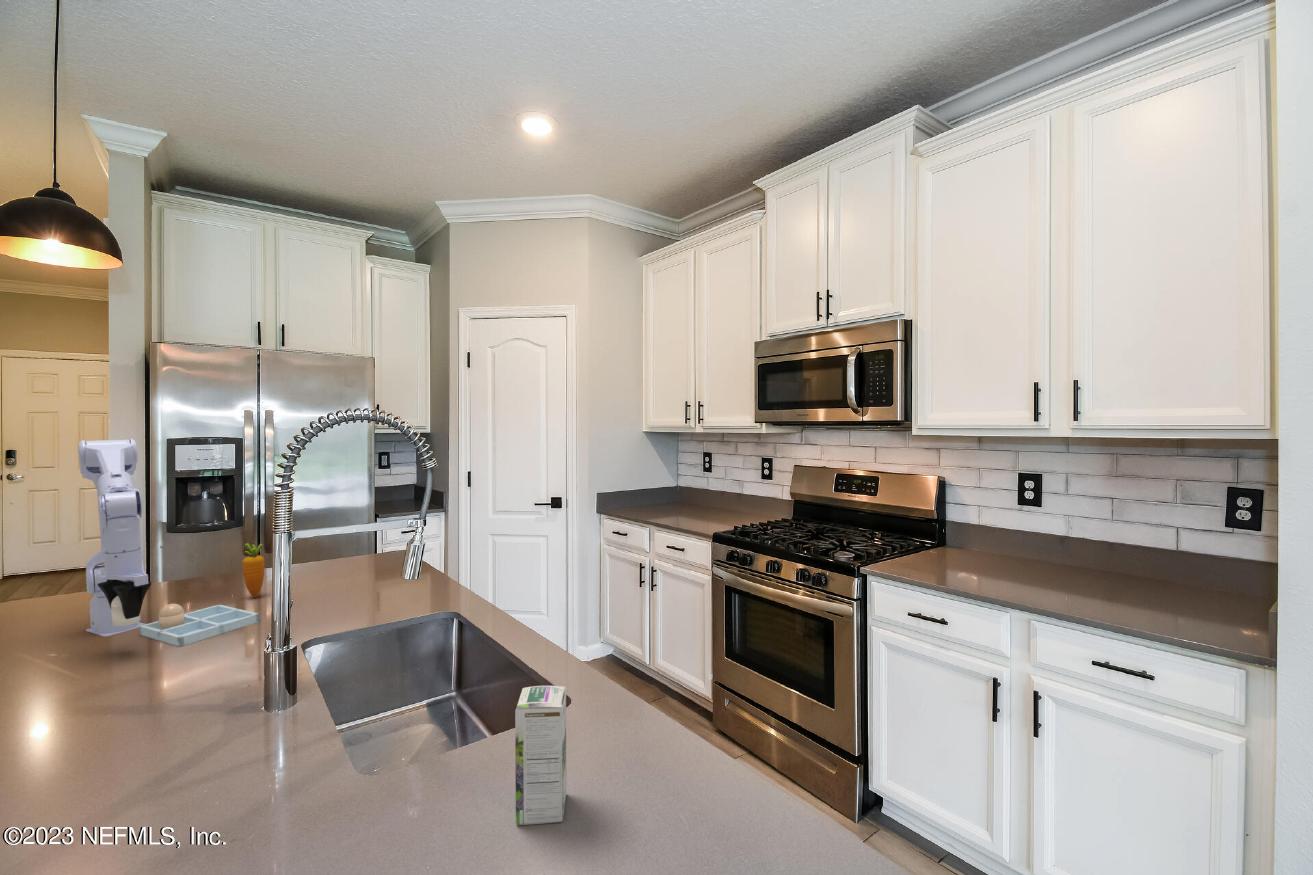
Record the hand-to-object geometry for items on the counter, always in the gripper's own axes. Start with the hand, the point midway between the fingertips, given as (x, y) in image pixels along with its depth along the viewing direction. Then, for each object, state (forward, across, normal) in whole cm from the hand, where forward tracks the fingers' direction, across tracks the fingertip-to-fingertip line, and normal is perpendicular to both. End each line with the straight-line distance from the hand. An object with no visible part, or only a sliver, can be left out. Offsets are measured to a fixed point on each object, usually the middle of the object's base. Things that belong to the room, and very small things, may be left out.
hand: (126, 615), depth 124 cm
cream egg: (+1, 0, 0) cm, 1 cm away
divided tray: (+8, -2, +14) cm, 17 cm away
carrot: (+9, -16, +34) cm, 39 cm away
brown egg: (+8, -6, +11) cm, 15 cm away
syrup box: (+8, +107, -2) cm, 107 cm away
